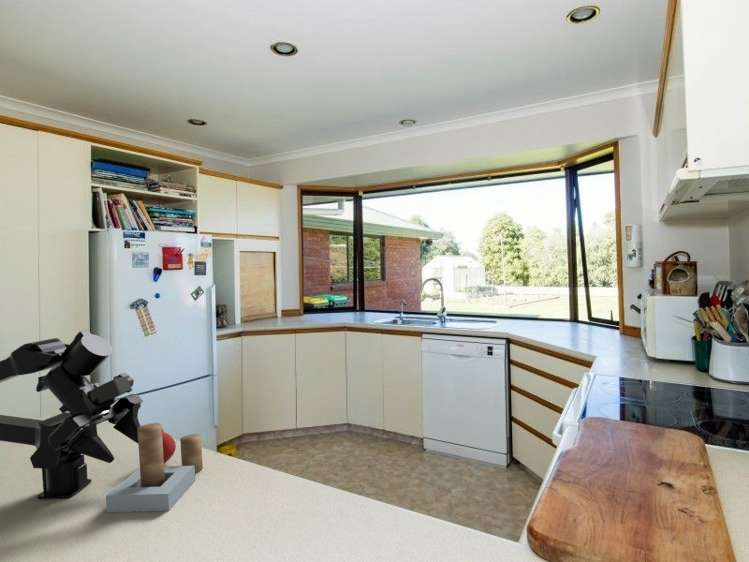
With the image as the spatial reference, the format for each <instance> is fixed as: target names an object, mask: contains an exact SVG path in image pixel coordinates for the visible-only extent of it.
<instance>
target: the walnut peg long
mask: <svg viewBox="0 0 749 562" xmlns="http://www.w3.org/2000/svg"><path fill="white" fill-rule="evenodd" d="M162 425H163V424H162V423H159V422H152V423H147V424H143V425H140V427H139V428H138V443H137V444H138V458H139V468H140V478H141V487H161V486H162V485H163V484H164V483H165V475H164V467H165V464H164V458H163V441H162V428H163V427H162Z"/></svg>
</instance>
